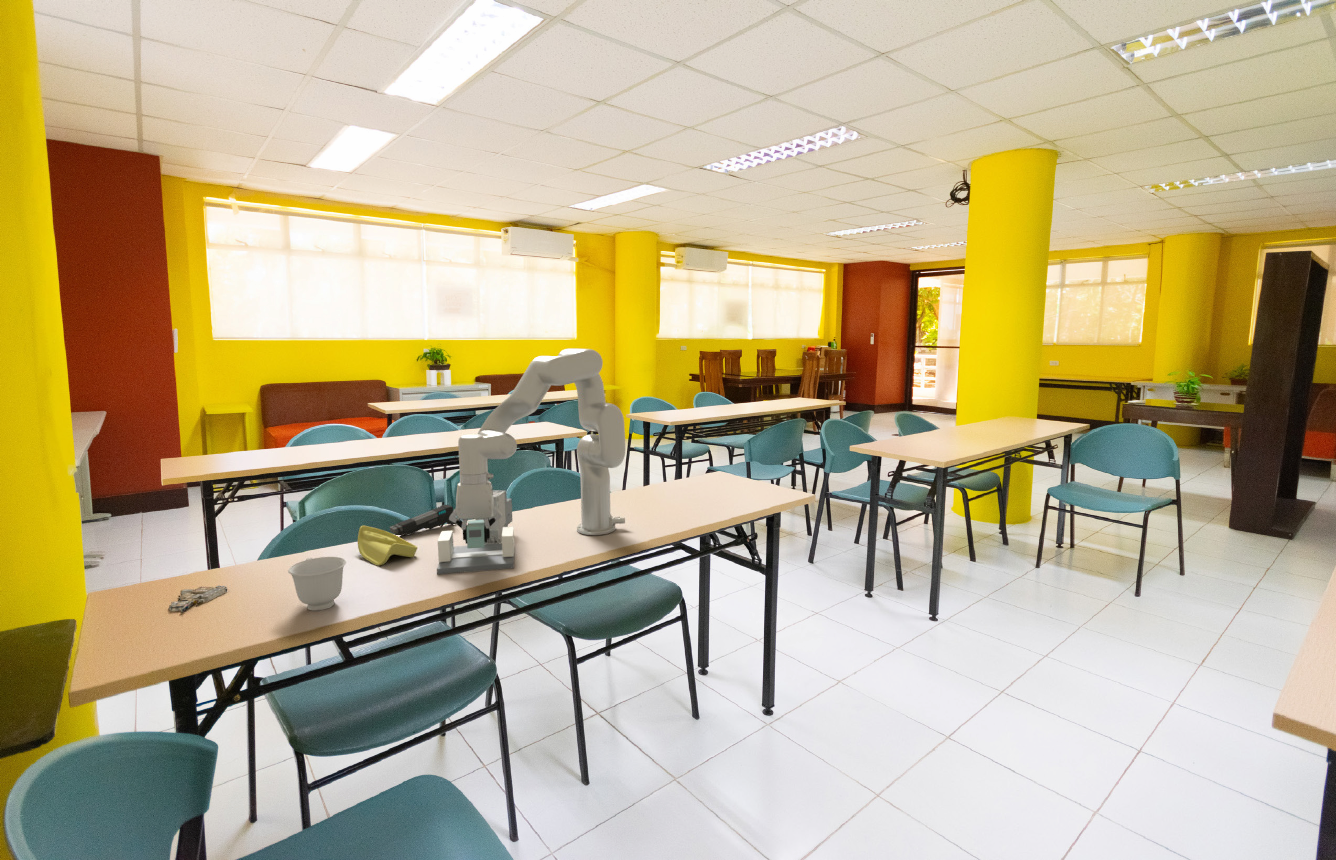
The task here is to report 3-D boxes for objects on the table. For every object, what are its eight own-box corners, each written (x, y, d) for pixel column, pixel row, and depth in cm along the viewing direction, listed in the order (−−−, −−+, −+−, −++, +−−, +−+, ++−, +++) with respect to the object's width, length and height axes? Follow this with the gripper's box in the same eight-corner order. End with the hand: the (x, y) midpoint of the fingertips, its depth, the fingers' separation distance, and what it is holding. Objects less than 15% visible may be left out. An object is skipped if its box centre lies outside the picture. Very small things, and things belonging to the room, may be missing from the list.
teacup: (337, 587, 161) (334, 550, 160) (356, 606, 150) (353, 565, 149) (283, 601, 153) (279, 561, 152) (299, 621, 142) (295, 578, 141)
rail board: (514, 547, 192) (513, 522, 191) (513, 568, 175) (512, 540, 173) (445, 552, 188) (443, 526, 186) (437, 574, 170) (435, 546, 169)
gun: (460, 524, 215) (449, 498, 211) (406, 556, 203) (393, 530, 199) (454, 521, 218) (443, 496, 214) (400, 553, 206) (388, 527, 202)
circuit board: (169, 620, 145) (168, 610, 144) (169, 598, 156) (168, 589, 156) (232, 606, 152) (231, 597, 152) (228, 586, 164) (227, 577, 163)
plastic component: (421, 548, 184) (390, 542, 176) (411, 573, 183) (380, 567, 175) (386, 530, 196) (357, 523, 189) (377, 553, 195) (347, 547, 187)
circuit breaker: (514, 530, 208) (512, 485, 206) (499, 544, 194) (496, 496, 192) (492, 529, 209) (490, 485, 207) (475, 543, 195) (472, 496, 193)
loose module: (485, 539, 184) (484, 519, 183) (484, 547, 177) (483, 526, 176) (469, 540, 183) (468, 520, 182) (467, 548, 176) (466, 527, 175)
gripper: (505, 474, 183) (507, 535, 186) (443, 477, 179) (446, 539, 182) (504, 480, 176) (506, 543, 178) (440, 483, 172) (443, 547, 175)
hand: (476, 540), depth 180 cm, fingers closed on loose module, 4 cm apart
